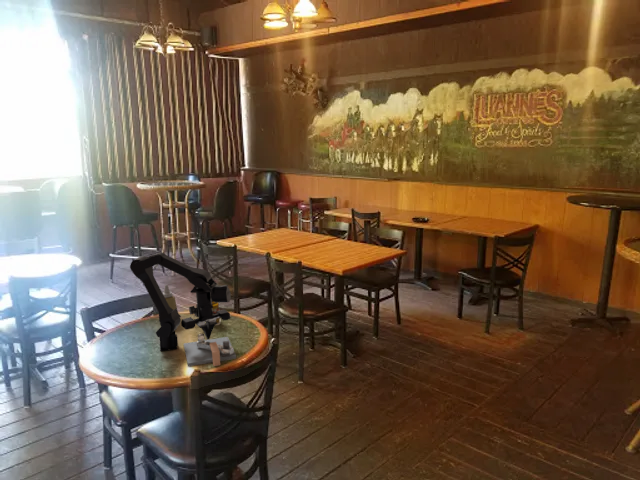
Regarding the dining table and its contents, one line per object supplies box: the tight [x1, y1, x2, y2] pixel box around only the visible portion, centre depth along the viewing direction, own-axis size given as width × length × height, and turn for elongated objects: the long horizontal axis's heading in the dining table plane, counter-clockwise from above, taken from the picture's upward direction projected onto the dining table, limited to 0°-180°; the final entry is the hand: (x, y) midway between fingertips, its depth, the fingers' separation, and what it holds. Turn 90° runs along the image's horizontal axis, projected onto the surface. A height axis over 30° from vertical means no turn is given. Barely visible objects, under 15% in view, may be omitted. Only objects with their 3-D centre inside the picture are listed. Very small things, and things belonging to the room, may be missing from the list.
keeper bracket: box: [209, 342, 221, 367], centre depth 190 cm, size 2×10×6 cm, turn 19°
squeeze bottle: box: [162, 284, 178, 310], centre depth 230 cm, size 8×8×18 cm
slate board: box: [183, 336, 237, 367], centre depth 198 cm, size 18×20×1 cm
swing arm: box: [197, 333, 235, 355], centre depth 196 cm, size 17×5×5 cm, turn 60°
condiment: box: [211, 299, 222, 326], centre depth 229 cm, size 7×8×12 cm
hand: (208, 339), depth 201 cm, fingers closed
